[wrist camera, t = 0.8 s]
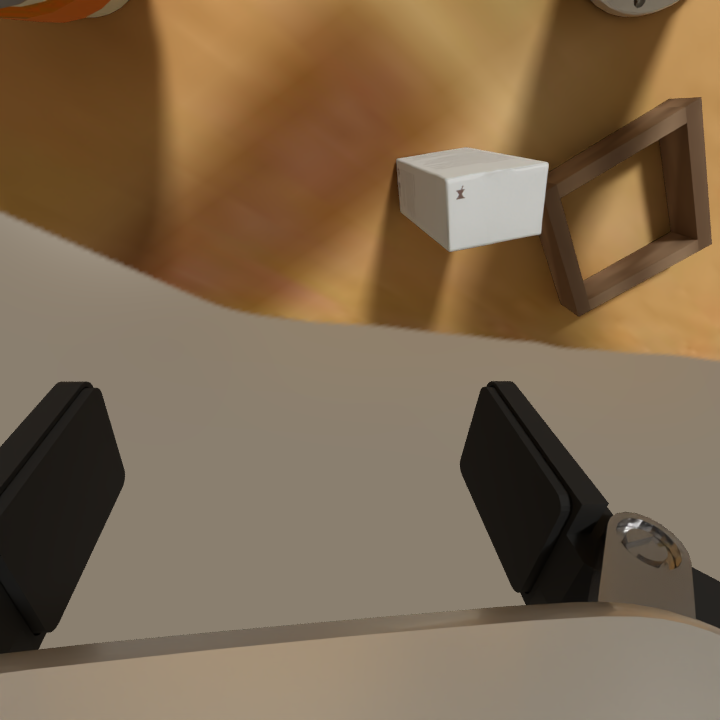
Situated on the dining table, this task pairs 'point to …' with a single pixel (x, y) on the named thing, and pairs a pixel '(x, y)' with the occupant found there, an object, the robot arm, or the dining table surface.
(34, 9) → the reusable coffee cup
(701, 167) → the socket
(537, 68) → the dining table surface
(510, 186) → the skincare box
